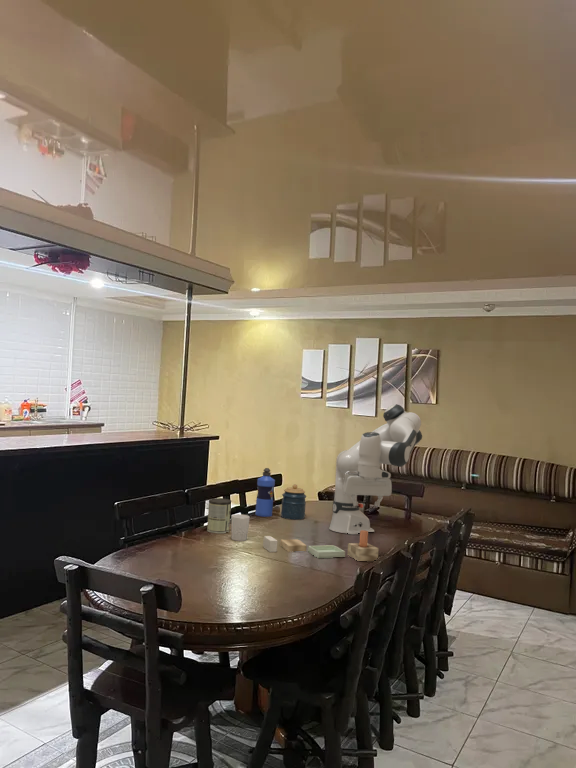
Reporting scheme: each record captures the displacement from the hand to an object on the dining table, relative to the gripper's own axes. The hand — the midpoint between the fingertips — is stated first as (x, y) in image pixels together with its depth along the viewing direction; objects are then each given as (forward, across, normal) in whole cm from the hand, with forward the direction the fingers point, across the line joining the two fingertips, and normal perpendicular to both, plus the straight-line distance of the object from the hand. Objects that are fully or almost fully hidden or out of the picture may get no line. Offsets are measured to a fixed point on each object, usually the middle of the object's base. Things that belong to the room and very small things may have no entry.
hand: (366, 506), depth 236 cm
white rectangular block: (+21, -36, +13) cm, 44 cm away
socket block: (+21, 0, 0) cm, 21 cm away
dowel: (+21, 0, 0) cm, 21 cm away
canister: (+21, -8, +79) cm, 82 cm away
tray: (+21, -14, +5) cm, 26 cm away
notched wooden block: (+22, -26, +15) cm, 37 cm away
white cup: (+21, -46, +30) cm, 59 cm away
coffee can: (+21, -53, +45) cm, 73 cm away
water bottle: (+21, -23, +84) cm, 89 cm away
